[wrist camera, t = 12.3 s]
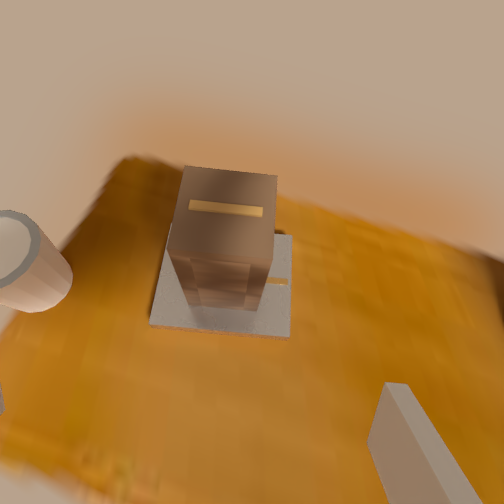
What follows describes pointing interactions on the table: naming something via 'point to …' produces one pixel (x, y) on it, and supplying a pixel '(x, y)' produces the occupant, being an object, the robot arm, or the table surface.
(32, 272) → the white cup
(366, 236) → the table surface
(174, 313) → the grey stand base
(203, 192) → the brown slotted box
